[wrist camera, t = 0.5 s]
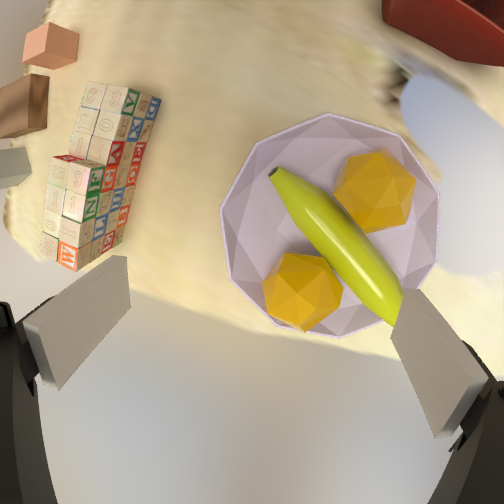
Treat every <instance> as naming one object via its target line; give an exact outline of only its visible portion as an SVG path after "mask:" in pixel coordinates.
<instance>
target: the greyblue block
mask: <svg viewBox="0 0 504 504" xmlns="http://www.w3.org/2000/svg"><path fill="white" fill-rule="evenodd" d="M31 173H32V170H31V167H30V164H29V160H28V157H27V153H26V149H25V147H24V148H13V149H3V150H0V189H4V188H8V187H12V186H17V185H18V184H19V183H21V182H22V181H23V180H24V179H25V178H26V177H28V176H29V175H30V174H31Z"/></svg>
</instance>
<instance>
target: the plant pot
mask: <svg viewBox="0 0 504 504" xmlns="http://www.w3.org/2000/svg"><path fill="white" fill-rule="evenodd" d="M382 16H383V19H384V21H385V22H386V23H387V24H389V25H391V26H393V27H396V28H398V29H400V30H402V31H404V32H406V33H408V34H410V35H412V36H414V37H416V38H418V39H420V40H422V41H424V42H426V43H428V44H430V45H432V46H433V47H435V48H437V49H439V50H440V51H442V52H444V53H446V54H447V55H449V56H451V57H452V58H454V59H456V60H461V61H465V62H471V63H477V64H484V65H491V66H501V67H504V0H382Z"/></svg>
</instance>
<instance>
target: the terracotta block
mask: <svg viewBox="0 0 504 504" xmlns="http://www.w3.org/2000/svg"><path fill="white" fill-rule="evenodd" d="M78 42H79V34H77V33H74V32H72V31H70V30H67V29H65V28H63V27H60V26H58V25H56V24H53V23H51V22H48V23H46V24H44V25H42V26H40V27H38V28H37V29H35V30H33V31H31V32H29V33H28V34H26V40H25V45H24V51H23V59H22V63H27V64H31V65H36V66H40V67H44V68H49V69H53V70H55V69H57V68H60V67H62V66H65V65H68V64H70V63H73V62H76V60H77V50H78Z"/></svg>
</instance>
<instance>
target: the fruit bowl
mask: <svg viewBox="0 0 504 504" xmlns="http://www.w3.org/2000/svg"><path fill="white" fill-rule="evenodd" d="M219 213H220V220H221V227H222V234H223V241H224V248H225V254H226V261H227V268H228V274H229V280H230V281H231V282H232V283H233V284H234V285H235V286H236V287H237V288H238V289H239V290H240V291H241V292H242V293H243V294H244V295H245V296H246V297H247V298H248V299H249V300H250V301H251V302H252V303H253V304H254V305H255V306H256V307H257V308H258V309H259V310H260V311H261V312H262V313H263V314H264V315H265V316H266V317H267V318H268V319H269V320H270V321H271V322H272V323H273V324H274V325H275V326H276V327H280V328H285V329H290V330H295V331H300V332H304V333H311V334H316V335H321V336H327V337H333V338H339V339H340V338H342V337H345V336H348V335H350V334H353V333H356V332H358V331H361V330H363V329H366V328H368V327H371V326H373V325H376V324H378V323H380V322H383V321H386V322H387V323H388V324H389V325H391V326H392V327H393V328H394V326H395V322H396V319H397V316H398V313H399V310H400V306H401V303H402V300H403V296H404V293H405V289H406V288H414V289H419V287H420V286H421V284H422V283H423V282H424V280H425V279H426V277H427V276H428V274H429V273H430V271H431V270H432V268H433V267H434V266H435V264H436V263H437V258H438V245H439V222H440V220H439V219H440V218H439V217H440V193H439V192H438V190H437V188H436V187H435V185H434V183H433V182H432V180H431V179H430V177H429V176H428V174H427V173H426V171H425V170H424V168H423V167H422V165H421V164H420V162H419V161H418V159H417V158H416V156H415V155H414V154H413V152H412V151H411V149H410V148H409V147H408V145H407V144H406V142H405V141H404V140H403V138H402V137H401V136H400V135H399V134H396V133H393V132H390V131H388V130H385V129H382V128H378V127H375V126H372V125H369V124H366V123H363V122H359V121H356V120H352V119H349V118H346V117H342V116H338V115H335V114H331V113H326V114H324V115H321V116H319V117H316V118H313V119H311V120H308V121H306V122H303V123H301V124H298V125H296V126H293V127H291V128H289V129H286V130H284V131H281V132H279V133H277V134H274V135H272V136H270V137H268V138H265V139H263V140H261V141H258V142H256V144H255V145H254V147H253V149H252V151H251V152H250V154H249V156H248V158H247V159H246V161H245V163H244V165H243V166H242V168H241V170H240V172H239V174H238V175H237V177H236V179H235V181H234V183H233V184H232V186H231V188H230V190H229V192H228V194H227V195H226V197H225V199H224V201H223V203H222V205H221V206H220V208H219Z"/></svg>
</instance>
